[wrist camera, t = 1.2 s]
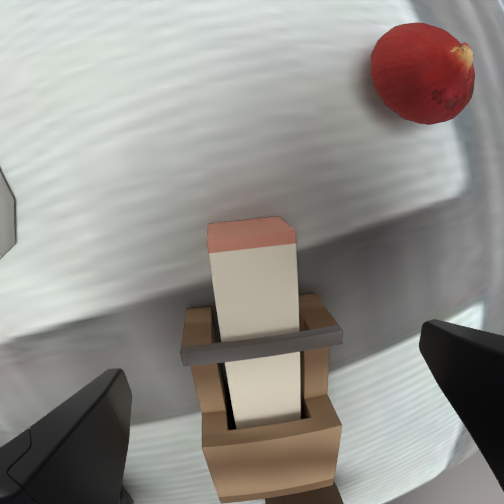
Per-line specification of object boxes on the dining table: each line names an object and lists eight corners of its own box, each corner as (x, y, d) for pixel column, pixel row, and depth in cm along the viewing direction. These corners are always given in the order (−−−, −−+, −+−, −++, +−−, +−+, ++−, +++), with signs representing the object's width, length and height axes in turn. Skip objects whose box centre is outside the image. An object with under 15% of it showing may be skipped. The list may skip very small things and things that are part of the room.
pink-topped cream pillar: (288, 403, 23) (300, 440, 19) (235, 411, 22) (240, 450, 18) (278, 216, 19) (295, 230, 15) (208, 223, 18) (206, 240, 14)
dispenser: (312, 431, 24) (332, 484, 18) (217, 445, 23) (221, 503, 17) (314, 292, 20) (350, 340, 14) (186, 308, 20) (178, 364, 14)
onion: (437, 96, 18) (522, 83, 10) (391, 145, 18) (479, 145, 11) (385, 30, 16) (458, -14, 8) (330, 74, 17) (399, 29, 9)
